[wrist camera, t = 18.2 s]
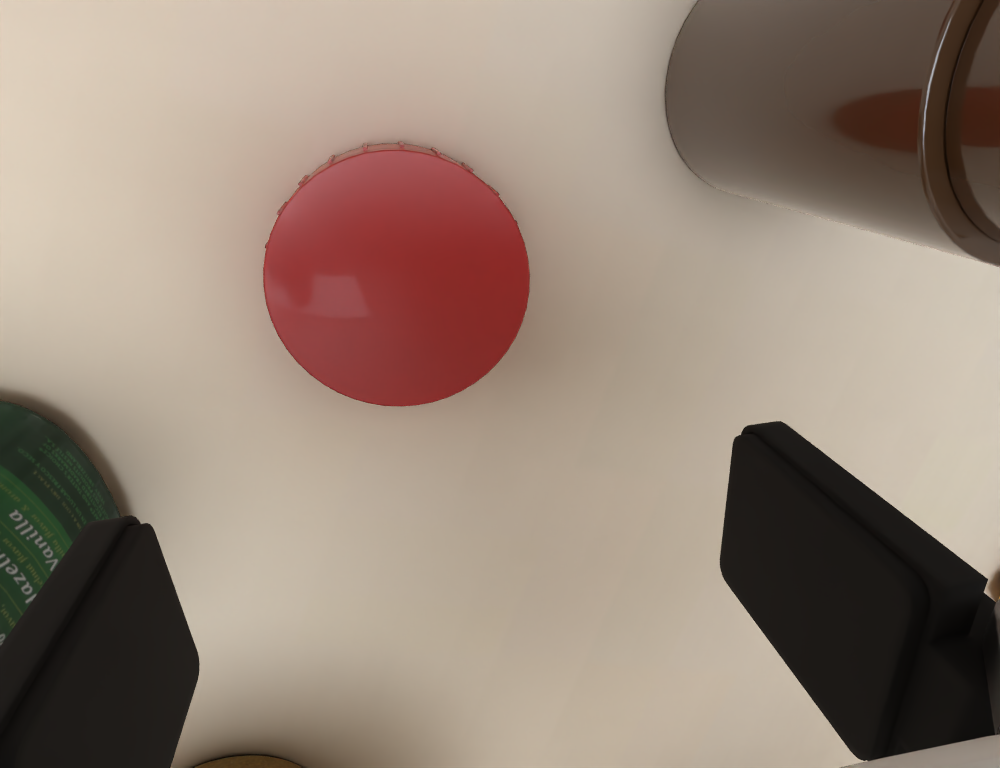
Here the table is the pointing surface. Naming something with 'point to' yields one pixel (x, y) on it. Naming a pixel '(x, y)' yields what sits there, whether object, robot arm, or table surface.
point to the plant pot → (249, 762)
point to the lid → (396, 275)
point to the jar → (849, 112)
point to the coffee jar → (40, 505)
